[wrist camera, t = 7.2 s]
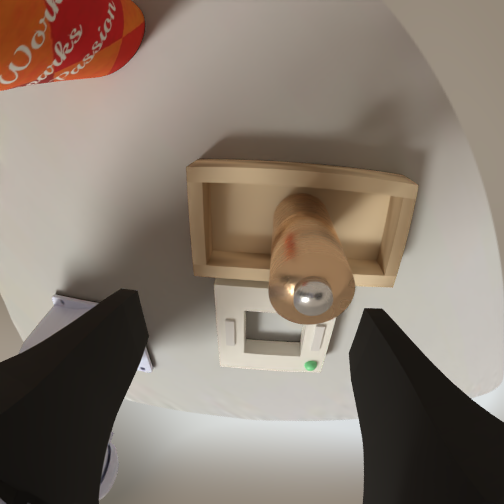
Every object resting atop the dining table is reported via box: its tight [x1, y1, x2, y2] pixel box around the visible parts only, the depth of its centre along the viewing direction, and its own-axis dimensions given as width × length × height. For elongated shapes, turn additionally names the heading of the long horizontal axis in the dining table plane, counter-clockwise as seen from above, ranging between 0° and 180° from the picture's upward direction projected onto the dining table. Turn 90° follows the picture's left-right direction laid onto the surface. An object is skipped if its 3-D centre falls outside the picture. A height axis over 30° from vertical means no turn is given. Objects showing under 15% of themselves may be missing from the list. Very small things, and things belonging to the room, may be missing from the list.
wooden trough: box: [186, 159, 419, 287], centre depth 16 cm, size 12×6×2 cm, turn 89°
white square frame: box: [214, 278, 336, 372], centre depth 20 cm, size 8×8×2 cm
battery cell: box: [268, 193, 355, 325], centre depth 13 cm, size 3×3×8 cm
